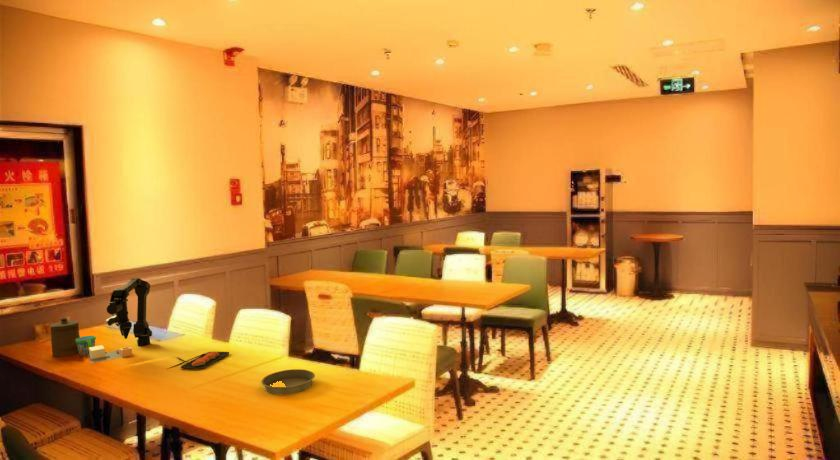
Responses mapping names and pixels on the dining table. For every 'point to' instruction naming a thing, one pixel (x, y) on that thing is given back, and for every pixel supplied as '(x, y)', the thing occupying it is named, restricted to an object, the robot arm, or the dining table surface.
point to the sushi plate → (203, 360)
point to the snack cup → (85, 344)
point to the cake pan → (289, 381)
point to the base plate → (107, 356)
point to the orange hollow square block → (125, 351)
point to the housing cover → (96, 352)
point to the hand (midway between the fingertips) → (124, 337)
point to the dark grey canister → (64, 337)
